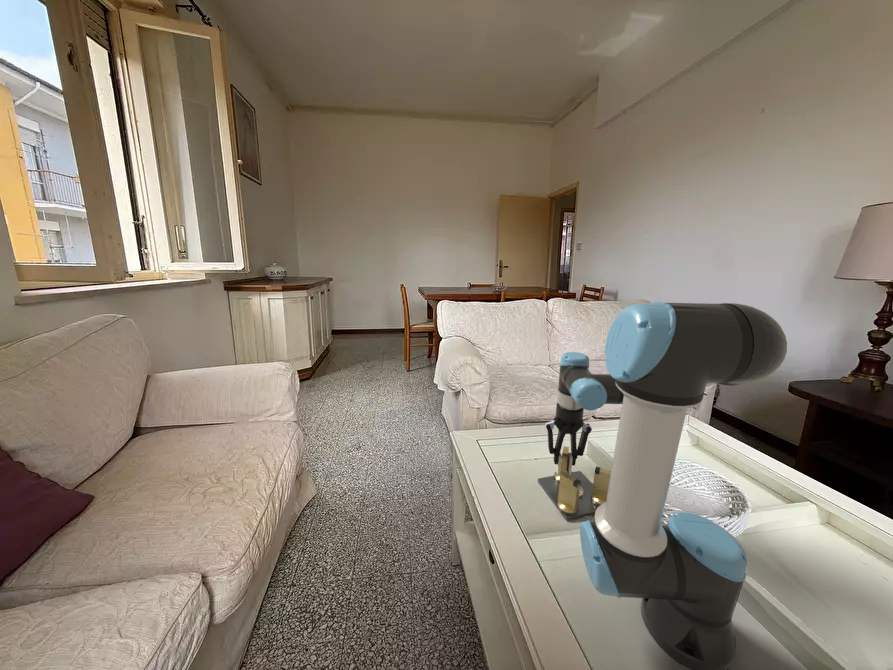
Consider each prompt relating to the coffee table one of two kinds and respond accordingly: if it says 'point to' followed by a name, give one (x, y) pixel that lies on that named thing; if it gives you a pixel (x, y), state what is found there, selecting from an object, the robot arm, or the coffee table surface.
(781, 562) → the coffee table surface
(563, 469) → the far knob
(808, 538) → the coffee table surface
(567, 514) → the plate
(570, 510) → the front knob
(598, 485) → the side knob
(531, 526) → the coffee table surface
